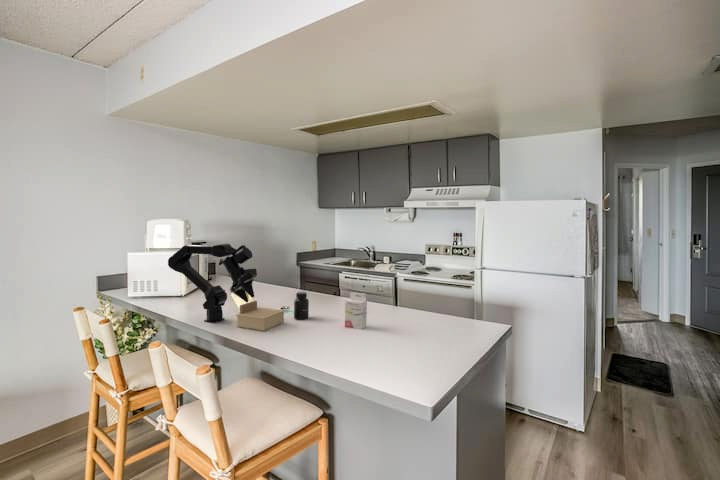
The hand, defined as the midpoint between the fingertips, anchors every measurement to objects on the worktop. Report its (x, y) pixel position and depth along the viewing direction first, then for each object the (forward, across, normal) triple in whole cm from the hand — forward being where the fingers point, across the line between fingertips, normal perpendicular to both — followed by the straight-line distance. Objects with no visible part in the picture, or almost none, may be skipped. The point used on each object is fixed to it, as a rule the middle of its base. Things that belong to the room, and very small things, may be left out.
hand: (250, 299), depth 166 cm
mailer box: (+12, 0, +1) cm, 12 cm away
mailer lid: (+8, -2, 0) cm, 8 cm away
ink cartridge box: (+34, -22, -27) cm, 48 cm away
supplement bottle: (+19, +1, -17) cm, 26 cm away
